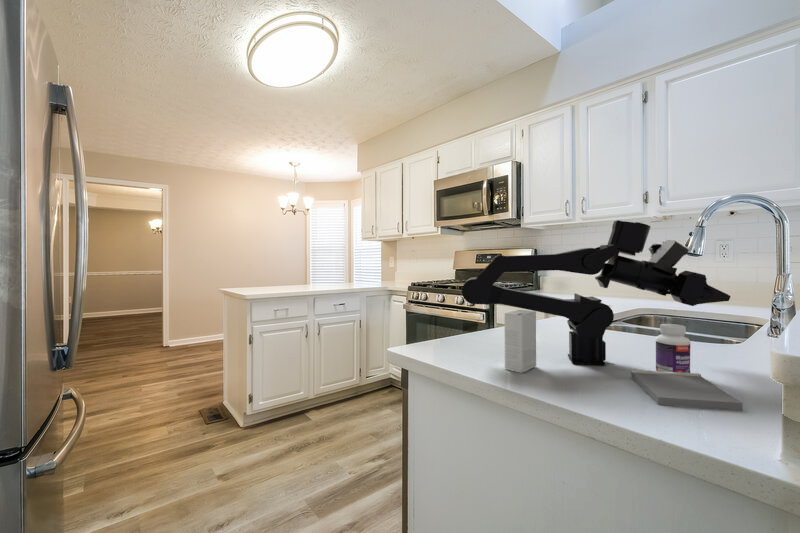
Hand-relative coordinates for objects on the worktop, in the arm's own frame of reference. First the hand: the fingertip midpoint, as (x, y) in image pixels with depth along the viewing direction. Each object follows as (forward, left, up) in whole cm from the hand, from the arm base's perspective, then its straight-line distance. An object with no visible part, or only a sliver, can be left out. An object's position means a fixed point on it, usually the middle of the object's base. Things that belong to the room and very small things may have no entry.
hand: (715, 294), depth 76 cm
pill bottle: (-11, -8, -15) cm, 20 cm away
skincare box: (-39, -9, -15) cm, 43 cm away
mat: (-13, -18, -15) cm, 27 cm away
